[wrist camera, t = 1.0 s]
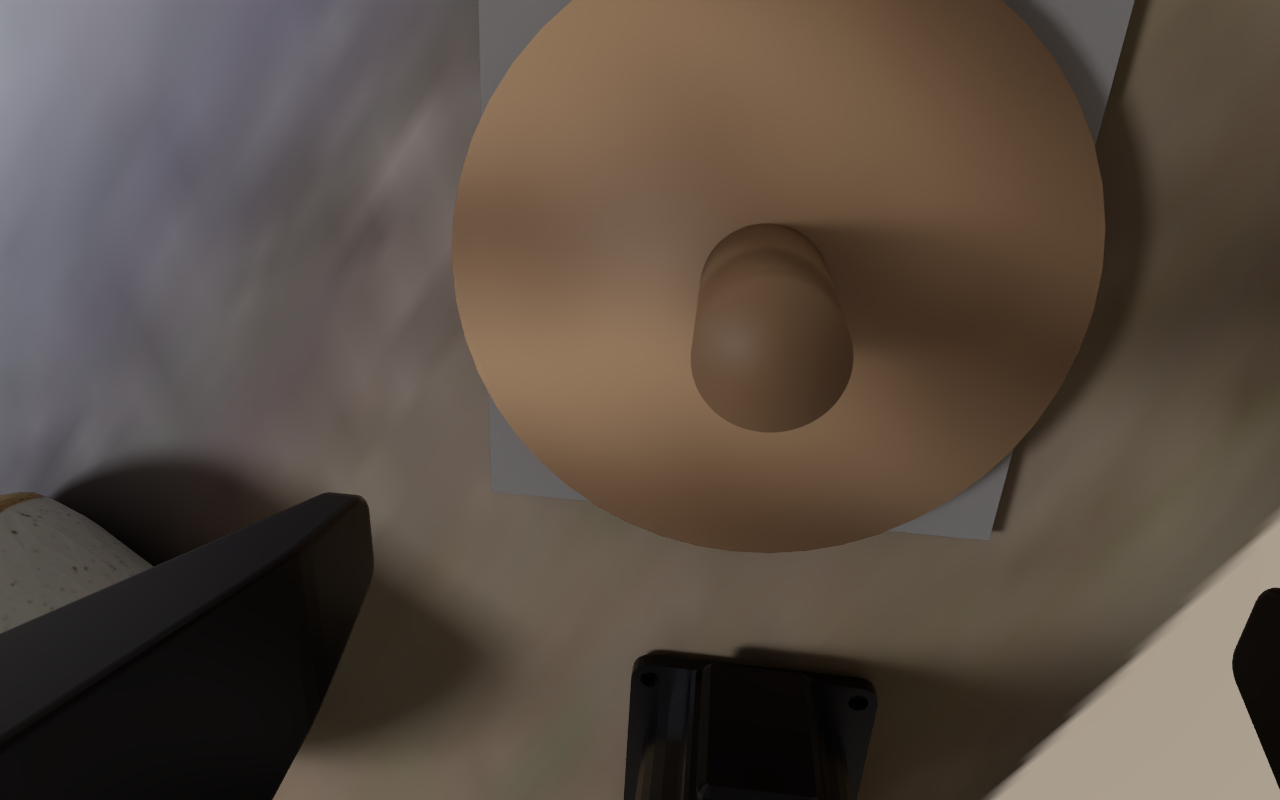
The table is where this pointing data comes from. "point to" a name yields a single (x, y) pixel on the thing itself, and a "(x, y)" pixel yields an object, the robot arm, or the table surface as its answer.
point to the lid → (777, 257)
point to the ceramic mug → (54, 557)
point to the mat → (1061, 19)
